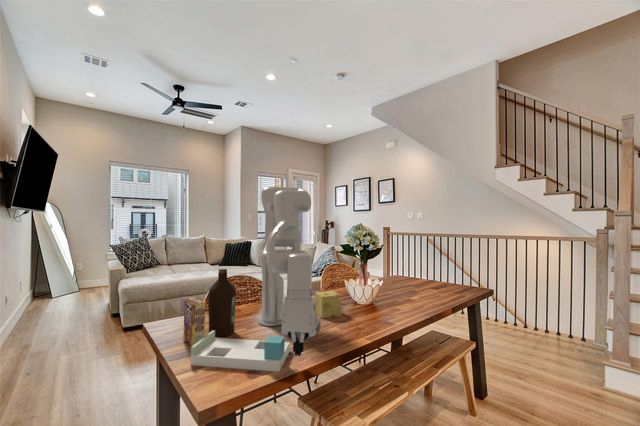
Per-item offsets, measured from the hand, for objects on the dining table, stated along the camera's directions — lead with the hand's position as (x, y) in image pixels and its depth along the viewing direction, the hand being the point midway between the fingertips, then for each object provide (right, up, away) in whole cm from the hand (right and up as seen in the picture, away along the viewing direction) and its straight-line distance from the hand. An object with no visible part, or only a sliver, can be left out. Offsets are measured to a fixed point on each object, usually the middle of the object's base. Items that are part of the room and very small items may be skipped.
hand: (298, 353), depth 92 cm
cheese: (+10, -6, +52) cm, 53 cm away
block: (-7, -1, +1) cm, 8 cm away
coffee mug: (+1, -5, +24) cm, 25 cm away
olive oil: (-32, -4, +26) cm, 42 cm away
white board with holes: (-18, -4, +6) cm, 20 cm away
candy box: (-39, -4, +17) cm, 43 cm away
